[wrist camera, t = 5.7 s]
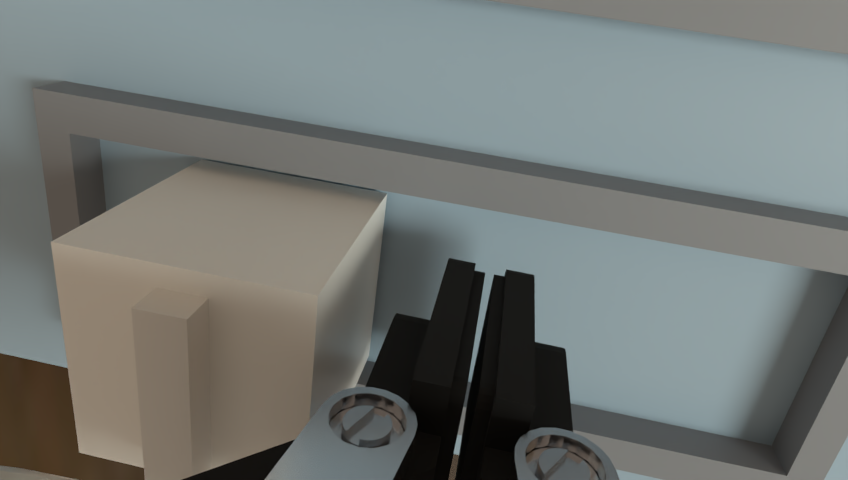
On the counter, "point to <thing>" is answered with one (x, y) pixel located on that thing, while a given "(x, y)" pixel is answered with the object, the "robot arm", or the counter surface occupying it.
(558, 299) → the switch bank
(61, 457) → the counter surface
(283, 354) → the white block with handle
